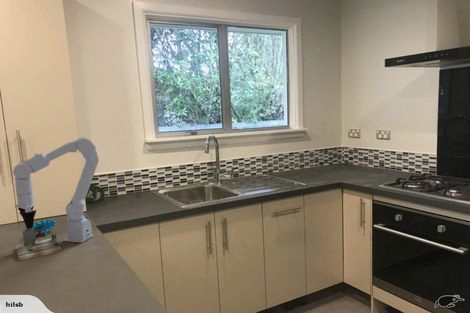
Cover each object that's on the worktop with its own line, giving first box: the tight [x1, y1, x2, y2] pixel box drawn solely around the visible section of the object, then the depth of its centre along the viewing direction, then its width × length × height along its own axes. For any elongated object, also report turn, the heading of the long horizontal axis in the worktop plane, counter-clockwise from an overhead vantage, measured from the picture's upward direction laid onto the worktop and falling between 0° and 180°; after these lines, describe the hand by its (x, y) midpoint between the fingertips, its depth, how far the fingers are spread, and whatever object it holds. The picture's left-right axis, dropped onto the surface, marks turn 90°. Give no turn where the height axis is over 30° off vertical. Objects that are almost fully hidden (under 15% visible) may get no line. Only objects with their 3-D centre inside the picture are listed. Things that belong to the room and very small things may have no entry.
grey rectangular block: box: [21, 228, 36, 248], centre depth 142 cm, size 4×7×6 cm, turn 34°
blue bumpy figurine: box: [33, 218, 57, 236], centre depth 161 cm, size 11×6×10 cm
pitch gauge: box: [15, 233, 62, 262], centre depth 143 cm, size 14×15×4 cm
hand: (28, 225), depth 145 cm, fingers open, 7 cm apart
